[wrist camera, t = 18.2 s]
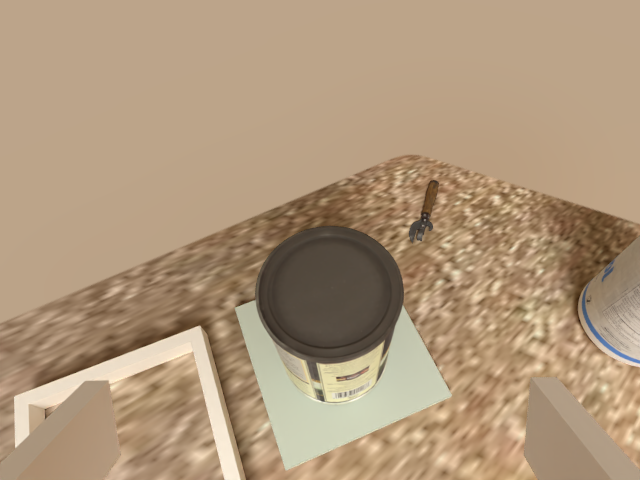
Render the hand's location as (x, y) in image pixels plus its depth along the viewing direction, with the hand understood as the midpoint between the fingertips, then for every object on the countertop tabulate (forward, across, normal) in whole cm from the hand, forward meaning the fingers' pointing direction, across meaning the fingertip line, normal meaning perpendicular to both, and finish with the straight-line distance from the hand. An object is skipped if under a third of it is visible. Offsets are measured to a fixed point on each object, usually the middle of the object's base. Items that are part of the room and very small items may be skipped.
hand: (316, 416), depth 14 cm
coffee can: (+27, 0, -12) cm, 29 cm away
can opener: (+39, +11, -1) cm, 40 cm away
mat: (+27, 0, -12) cm, 30 cm away
